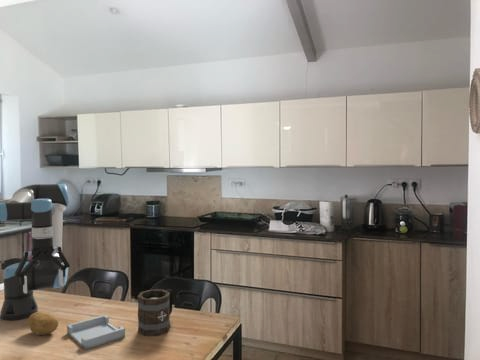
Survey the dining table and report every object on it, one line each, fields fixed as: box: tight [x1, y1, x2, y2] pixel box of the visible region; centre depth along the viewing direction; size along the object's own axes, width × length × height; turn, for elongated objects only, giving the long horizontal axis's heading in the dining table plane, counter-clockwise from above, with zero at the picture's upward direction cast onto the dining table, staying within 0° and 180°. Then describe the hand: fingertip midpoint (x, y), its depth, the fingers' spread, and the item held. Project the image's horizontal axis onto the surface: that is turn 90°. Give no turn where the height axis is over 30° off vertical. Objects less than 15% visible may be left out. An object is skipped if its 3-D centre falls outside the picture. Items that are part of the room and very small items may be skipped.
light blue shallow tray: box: [66, 314, 126, 351], centre depth 158 cm, size 19×16×4 cm
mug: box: [137, 288, 174, 337], centre depth 166 cm, size 20×14×15 cm
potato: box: [27, 311, 59, 336], centre depth 160 cm, size 10×14×8 cm
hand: (43, 288), depth 159 cm, fingers open, 13 cm apart
